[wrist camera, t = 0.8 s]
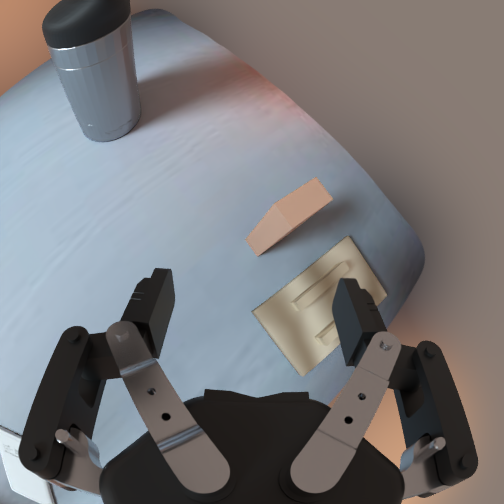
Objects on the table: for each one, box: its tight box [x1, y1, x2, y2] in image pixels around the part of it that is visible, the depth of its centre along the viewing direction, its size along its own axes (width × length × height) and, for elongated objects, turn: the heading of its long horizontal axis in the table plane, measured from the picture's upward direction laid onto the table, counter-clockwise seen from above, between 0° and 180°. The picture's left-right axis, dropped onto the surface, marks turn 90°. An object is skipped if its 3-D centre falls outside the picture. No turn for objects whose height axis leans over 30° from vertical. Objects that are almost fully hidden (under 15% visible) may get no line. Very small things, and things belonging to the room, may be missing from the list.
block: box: [245, 177, 333, 257], centre depth 30 cm, size 5×2×12 cm, turn 127°
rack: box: [251, 236, 387, 377], centre depth 34 cm, size 16×10×3 cm, turn 127°
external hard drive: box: [0, 426, 55, 504], centre depth 20 cm, size 2×8×12 cm
